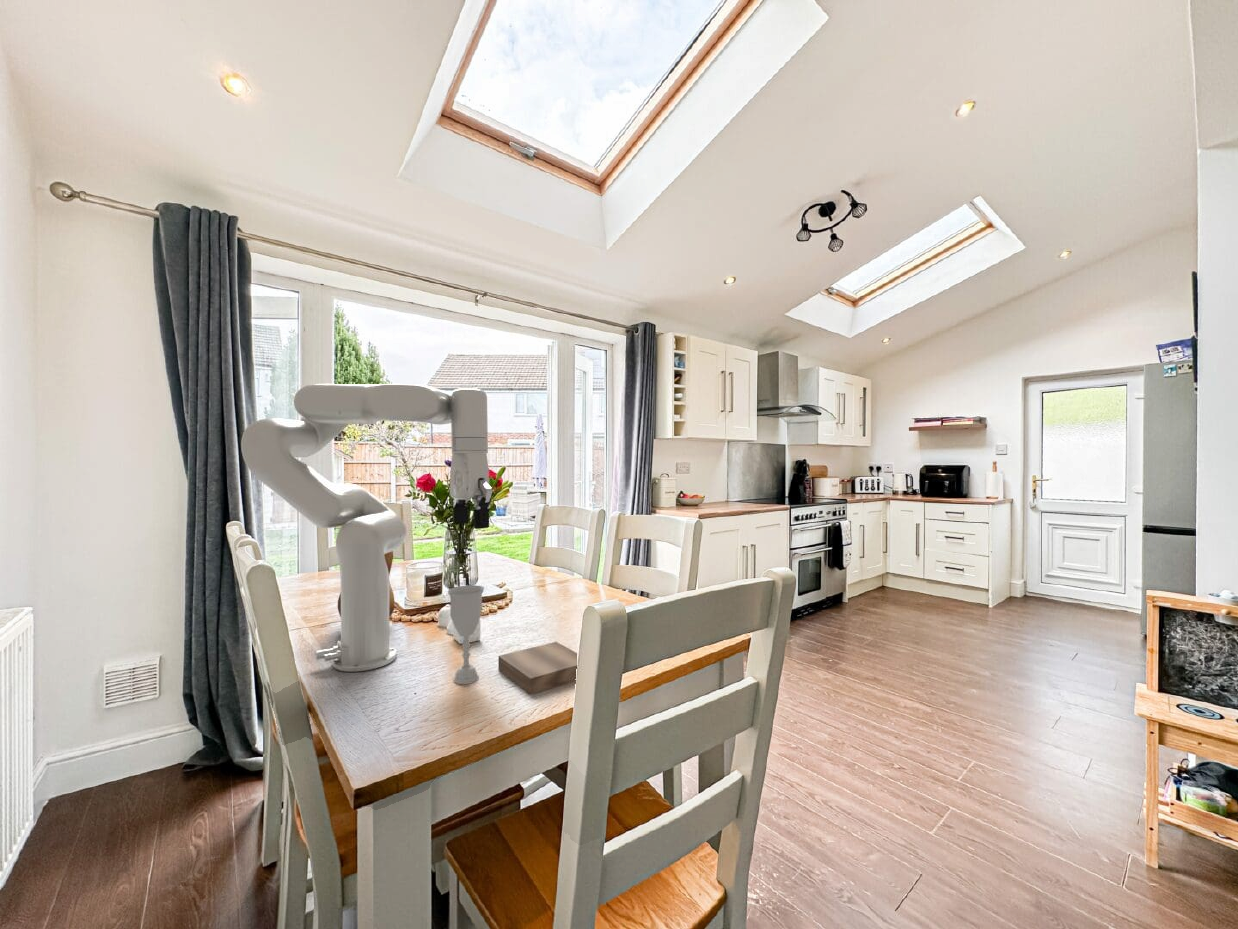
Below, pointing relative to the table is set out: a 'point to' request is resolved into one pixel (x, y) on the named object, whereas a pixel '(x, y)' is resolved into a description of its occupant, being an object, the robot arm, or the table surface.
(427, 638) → the table surface
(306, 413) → the robot arm
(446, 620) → the container set
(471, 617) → the chalice
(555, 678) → the walnut plinth
